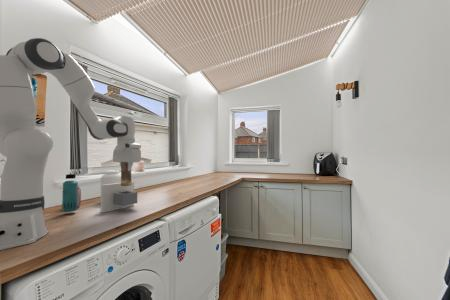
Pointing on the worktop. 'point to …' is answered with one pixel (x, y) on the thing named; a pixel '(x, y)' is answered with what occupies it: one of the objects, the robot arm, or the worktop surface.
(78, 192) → the soda can
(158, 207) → the worktop surface
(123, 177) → the walnut rail
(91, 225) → the worktop surface
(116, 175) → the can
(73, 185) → the beverage bottle
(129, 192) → the white grey blocky piece
